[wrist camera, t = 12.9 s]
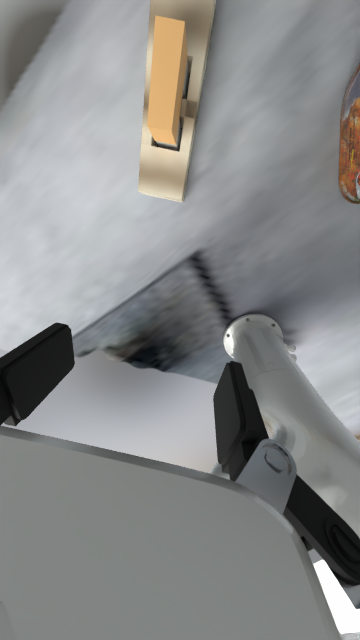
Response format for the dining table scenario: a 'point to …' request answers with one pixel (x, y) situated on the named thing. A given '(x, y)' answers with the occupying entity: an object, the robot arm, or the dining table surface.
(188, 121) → the rail
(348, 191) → the tin
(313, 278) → the dining table surface
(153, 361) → the dining table surface
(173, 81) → the light orange block
